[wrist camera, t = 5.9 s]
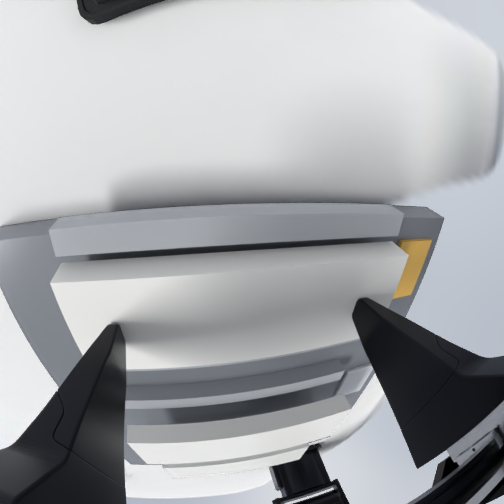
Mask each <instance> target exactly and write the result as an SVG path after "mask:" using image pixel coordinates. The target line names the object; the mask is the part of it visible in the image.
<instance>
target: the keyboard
mask: <svg viewBox="0 0 504 504" xmlns="http://www.w3.org/2000/svg"><path fill="white" fill-rule="evenodd" d="M161 1H165V0H77V4H78V10H79V13H80V15H81V17H83V18H84V19H85V20H87V21H88V22H90V23H91V24H101V23H104V22H107V21H109V20H111V19H114V18H116V17H119V16H121V15H124V14H126V13H129V12H131V11H134V10H137V9H140V8H142V7H145V6H148V5H151V4H155V3H158V2H161Z"/></svg>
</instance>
